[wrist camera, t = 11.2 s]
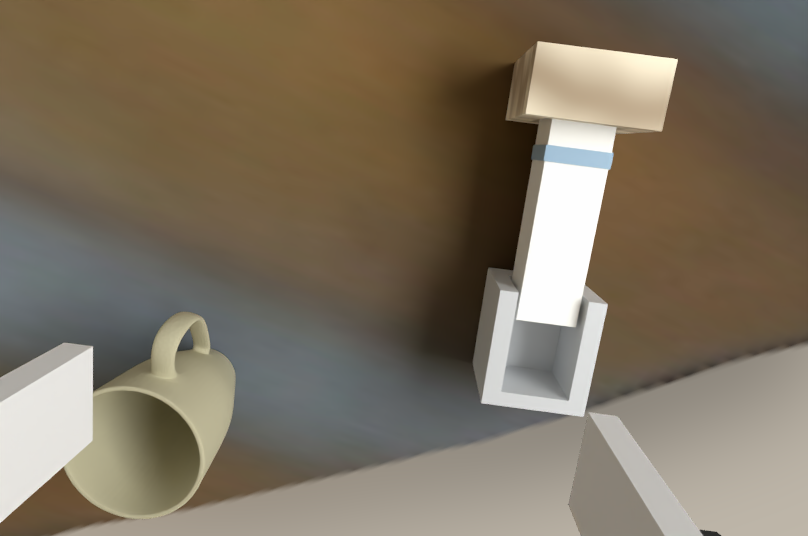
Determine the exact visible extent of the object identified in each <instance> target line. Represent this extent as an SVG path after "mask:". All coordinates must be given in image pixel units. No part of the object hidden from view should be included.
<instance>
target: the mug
mask: <svg viewBox="0 0 808 536" xmlns="http://www.w3.org/2000/svg"><path fill="white" fill-rule="evenodd" d="M189 328H190V331H191V334H192V338H193V349H191V350H184V351H178V352H176V351H177V348H178V345H179V343H180V341H181V339H182V337H183V336H184V334H185V333H186V331H187V330H188V329H189ZM234 392H235V371H234V368H233V366H232V364H231V362H230V361H229V360H228V359H227V357H225V356H224V355H223V354H222V353H220V352H218V351H216V350H213V349H210V339H209V334H208V329H207V325H206V323H205V321H204V319H203V318H202V317H201V316H199V315H197V314H194V313H191V312H179V313H177V314H175V315H173V316H172V317H170V318H169V319H168V320H167V321H166V322H165V323H164V324H163V325H162V327H161V328H160V329H159V331H158V333H157V335H156V337H155V339H154V342H153V346H152V351H151V359H149V360H146V361H144V362H142V363H140V364H138V365H137V366H135V367H133V368H131V369H129V370H128V371H126V372H124V373H123V374H121V375H119V376H118V377H116V378H115V379H113V380H111V381H110V382H108V383H106V384H105V385H103V386H101V387H100V388H98V389H96V390H95V391H93V441H92V442H91V443H89V444H88V445H87V446H86V447H85V448H84V449H83V450H82V451H80V452H79V453H78V454H77V455H76V456H75V457H74V458H73V459H71V460H70V461H69V462H68V463H67V464H66V465H65V466H64V469H65V472H66V474H67V476H68V477H69V479H70V481H71V482H72V484H73V485H74V486H75V488H76V489H77V490H78V491H79V492H80V493H81V494H82V495H83V496H84V497H85V498H86V499H87V500H88V501H90V502H91V503H93V504H94V505H96V506H97V507H99V508H101V509H103V510H105V511H107V512H109V513H112V514H114V515H117V516H121V517H125V518H133V519H149V518H156V517H160V516H163V515H166V514H169V513H171V512H173V511H175V510H177V509H178V508H180V507H181V506H182V505H184V504H185V503H186V502H187V501H188V500H189V499H190V498H191V497H192V496H193V494H194V493H195V492H196V490H197V488H198V487H199V485H200V483H201V481H202V479H203V477H204V475H205V474H206V472H207V470H208V468H209V466H210V464H211V462H212V461H213V459H214V457H215V455H216V453H217V451H218V449H219V448H220V446H221V444H222V441H223V439H224V437H225V435H226V433H227V430H228V428H229V424H230V421H231V417H232V412H233V405H234Z"/></svg>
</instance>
